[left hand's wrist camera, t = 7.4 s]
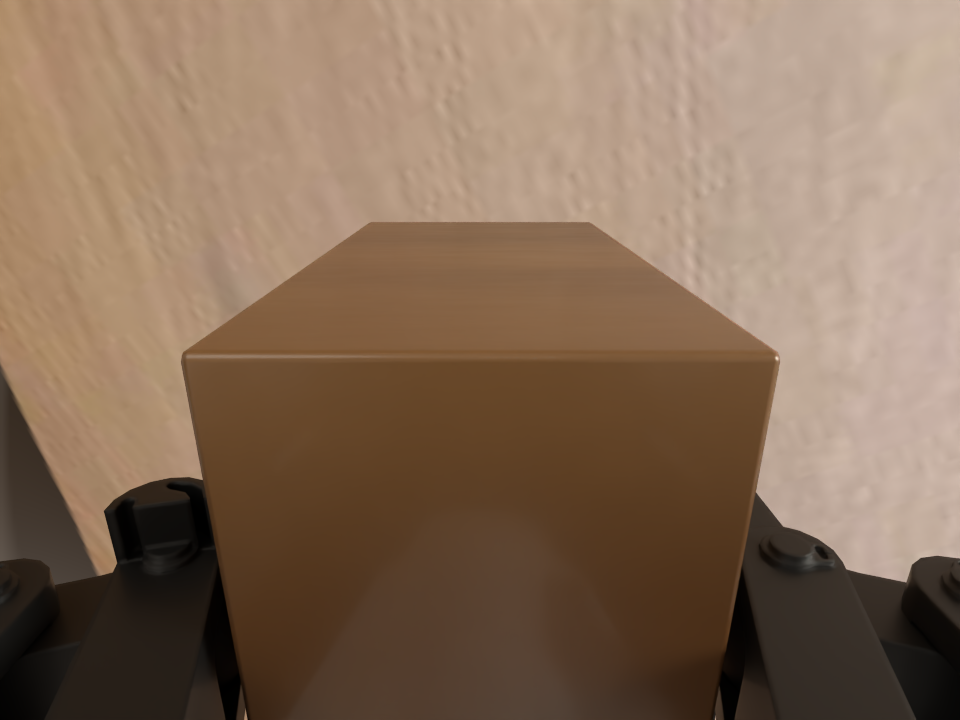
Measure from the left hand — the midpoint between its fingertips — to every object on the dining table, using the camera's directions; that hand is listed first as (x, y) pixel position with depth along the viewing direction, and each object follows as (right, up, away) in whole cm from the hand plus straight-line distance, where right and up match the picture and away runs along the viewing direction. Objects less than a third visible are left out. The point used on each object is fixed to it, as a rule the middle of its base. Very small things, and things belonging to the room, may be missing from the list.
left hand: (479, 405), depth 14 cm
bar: (0, -9, +4) cm, 10 cm away
